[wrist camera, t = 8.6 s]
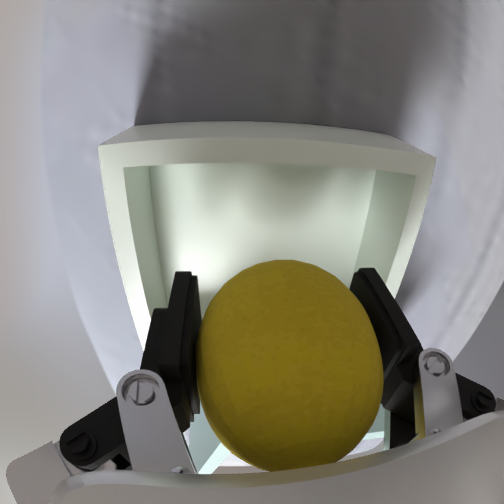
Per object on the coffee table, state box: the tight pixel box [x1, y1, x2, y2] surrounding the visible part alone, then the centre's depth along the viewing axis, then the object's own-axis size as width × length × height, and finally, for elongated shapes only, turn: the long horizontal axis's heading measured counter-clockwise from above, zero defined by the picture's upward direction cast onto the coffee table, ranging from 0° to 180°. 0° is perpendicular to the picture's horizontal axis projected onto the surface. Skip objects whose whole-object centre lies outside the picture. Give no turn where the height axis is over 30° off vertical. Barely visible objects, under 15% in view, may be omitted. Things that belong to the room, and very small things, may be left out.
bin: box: [98, 121, 436, 351], centre depth 13 cm, size 12×12×4 cm
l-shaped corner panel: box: [189, 401, 385, 474], centre depth 19 cm, size 12×12×8 cm
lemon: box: [195, 260, 384, 472], centre depth 9 cm, size 6×6×8 cm
